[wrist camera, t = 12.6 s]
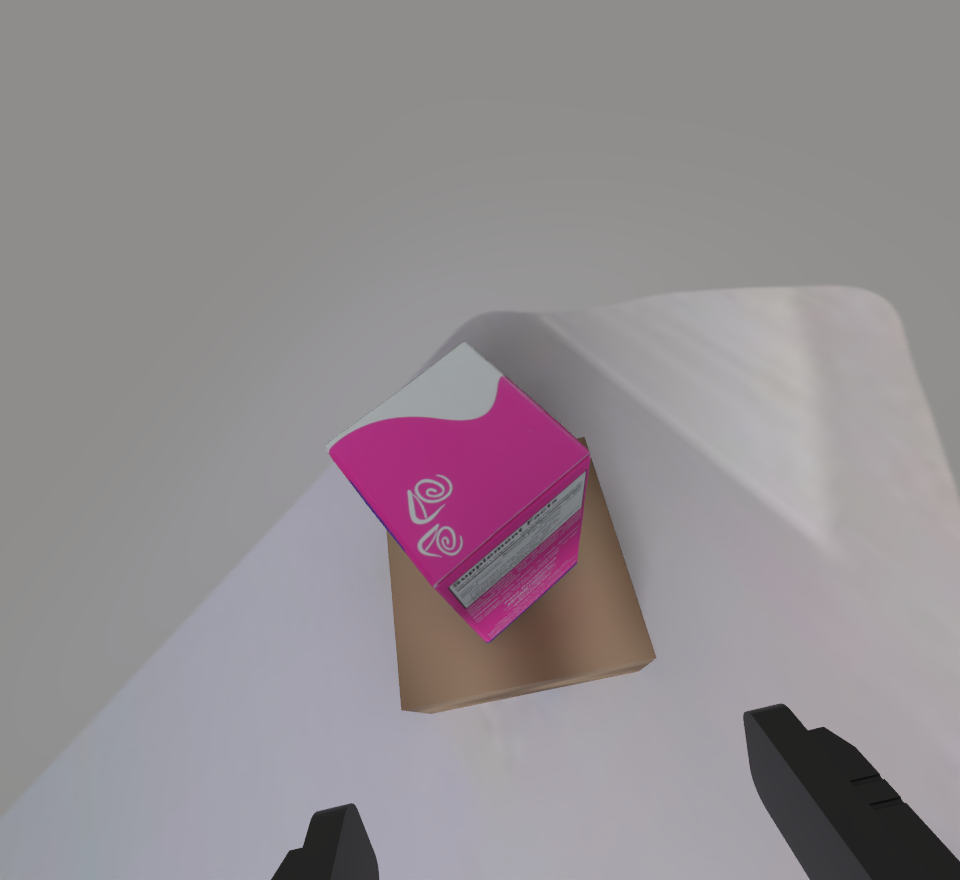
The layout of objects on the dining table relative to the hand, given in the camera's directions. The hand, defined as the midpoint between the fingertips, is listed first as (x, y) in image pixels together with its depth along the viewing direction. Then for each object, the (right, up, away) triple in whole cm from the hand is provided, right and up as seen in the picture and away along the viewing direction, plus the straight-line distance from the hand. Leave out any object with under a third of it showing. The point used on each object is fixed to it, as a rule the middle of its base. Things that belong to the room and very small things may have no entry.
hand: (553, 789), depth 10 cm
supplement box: (-1, +1, +14) cm, 14 cm away
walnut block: (0, -2, +19) cm, 19 cm away
